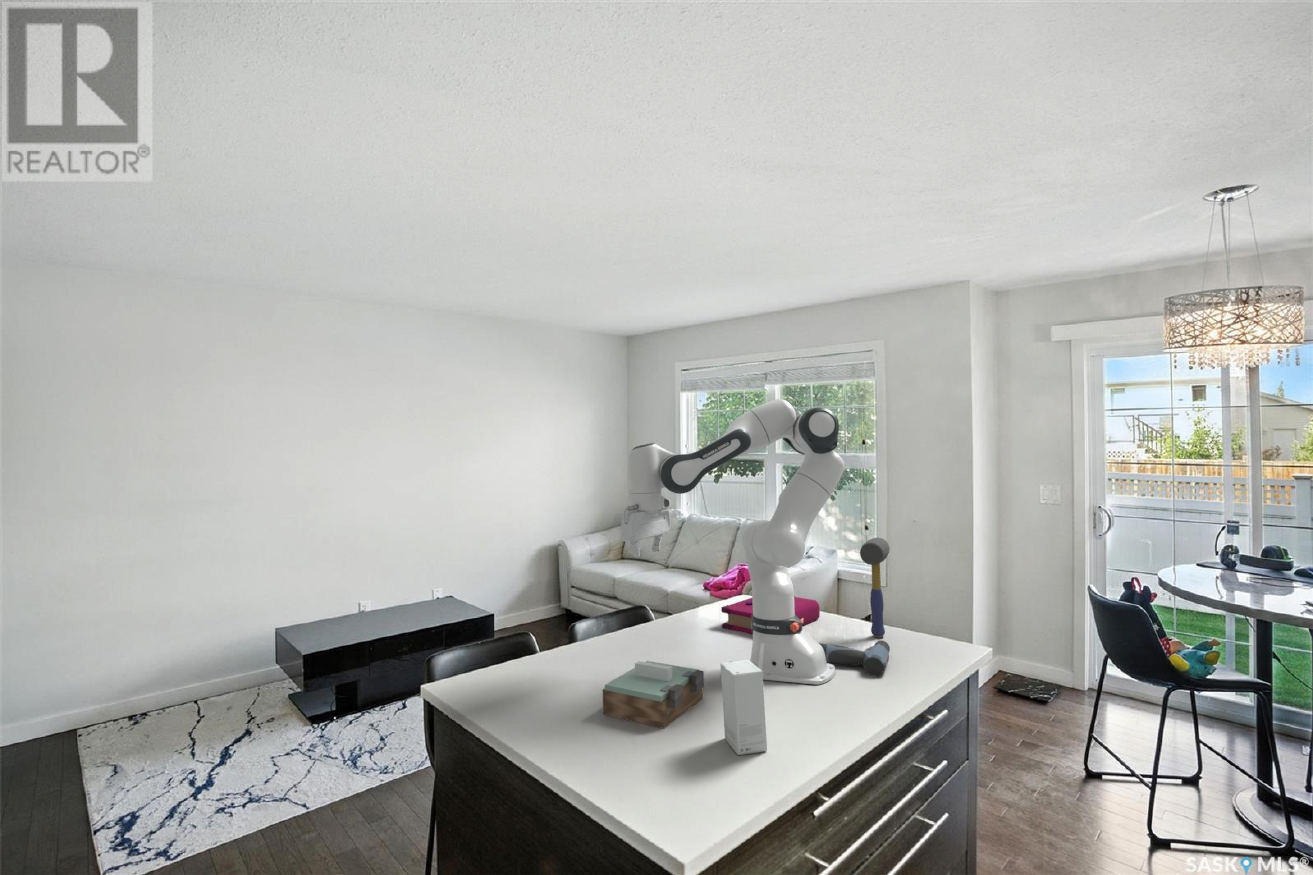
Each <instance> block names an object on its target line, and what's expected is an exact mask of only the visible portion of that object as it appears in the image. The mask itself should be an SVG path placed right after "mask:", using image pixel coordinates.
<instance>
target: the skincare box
mask: <svg viewBox="0 0 1313 875" xmlns="http://www.w3.org/2000/svg"><path fill="white" fill-rule="evenodd" d="M720 678H721V680H720V681H721V693H722V695H721V697H722V711H723V714H722V715H723V727H724V739H725V741H726V742H727V743H728V745H729V746H730V747H731V748H732V750H733V751H734V753H736V755H737V756H742V755H749V754H757V753H763V752H766V751H768V739H767V728H766V727H767V726H766V709H765V695H764V694H765V692H764V691H765V690H764V679H763V671H761V670H760V669H759V668H758V667H756V666H755V665H754V664H753V663H752V662H750V659H743V660H736V661H735V660H734V661H730V662H721V663H720Z"/></svg>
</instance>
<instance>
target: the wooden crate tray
mask: <svg viewBox="0 0 1313 875" xmlns="http://www.w3.org/2000/svg"><path fill="white" fill-rule="evenodd" d="M704 673H705V672H704V670H700V669H698V670H697V671H695V672H694V673H692V674H691V675H690V682H689V683H688V684H686V685H685V686H683V685H679V684H676V685H674V686H673V687H671V688H670V689H668V697H667V698H666V699H665V700H663V701H662V702H660V701H655V700H650V699H645V698H641V697H636V696H631V695H626V694H621V693H617V692H612V691H607V690H605V688H603V689H602V710H603V713H602V714H603V715H605V714H607V715H606V716H609V715H611V716H610V717H613V716H614V718H618V719H622V720H626V719H628V720H627V721H630V720H631V721H630V722H635V723H639V724H643V723H644V724H643V725H647V724H648V726H653V727H657V728H661V729H665V728H667V727H668V726H669V725H670V723H671V724H672V723H673V722H674V721H676V720H677V719H679V718H680V717H681V716H682V715H685V713H687V711H688V710H690V709H691V708H693V707H695V705H697V704H698V703H700V701H702V700H703V698H704V697H703V689H704V688H705V679H704V678H705V676H704V675H705V674H704Z"/></svg>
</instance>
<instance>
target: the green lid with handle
mask: <svg viewBox="0 0 1313 875" xmlns="http://www.w3.org/2000/svg"><path fill="white" fill-rule="evenodd" d="M697 670H699V669H697V668H692V667H691V668H690V667H685V666H679V665H674V664H668V663H661V662H656V661H650V660H645V661H643V660H642V661H641V660H638V661H636V662H635V663H634V668H631V669H630V670H629V671H626V672H625V673H623V674H621V675H619V676H618V677H615V679H613V680H611V681H609V682H607V683H605V685H604V689H605V690H607V691H612V692H617V693H621V694H626V695H631V696H636V697H641V698H645V699H650V700H655V701H660V702H662V701H663V700H665V699H666V698H667V697H668V689H670V688H671V687H673V686H674V685H676V684H679V685H683V686H685V685H686V684H688V683H689V682H690V675H691V674H692V673H694V672H695V671H697Z"/></svg>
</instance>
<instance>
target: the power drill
mask: <svg viewBox="0 0 1313 875" xmlns="http://www.w3.org/2000/svg"><path fill="white" fill-rule="evenodd" d="M817 643H818V642H817ZM818 644H820V645H821V646H822V648H823V650H824V653H825V657H826V662H827V663H828V664H832V665H834V666H841V667H842V666H843V667H844V666H845V667H850V666H857V665H859V666H861V665H862V666H863V669H864V671H865V672H866V673H867V674H868V675H870V676H871V677H872V676H874V677H879V676H881V675H882V674H883V673H884V671H885V670H886V668H887V665H888V663H889V660H890V650H891V649H890V648H891V647H890V645H889V643H888V642H887V641H885V640H883V639H882V640H881V639H879V640H878V641H875V643H874V645H872V646H869V647H867V648H865V650H861V649H856V648H852V647H849V646H843V645H838V644H830V643H822V642H819V643H818Z"/></svg>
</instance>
